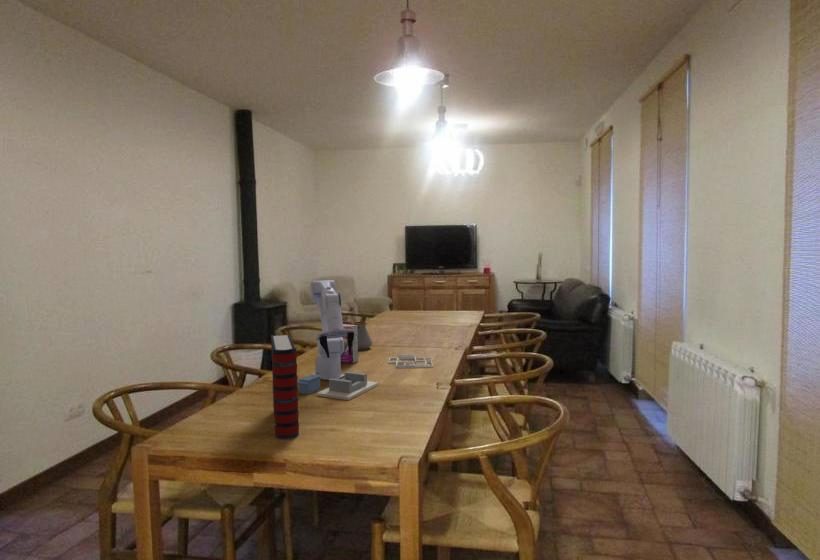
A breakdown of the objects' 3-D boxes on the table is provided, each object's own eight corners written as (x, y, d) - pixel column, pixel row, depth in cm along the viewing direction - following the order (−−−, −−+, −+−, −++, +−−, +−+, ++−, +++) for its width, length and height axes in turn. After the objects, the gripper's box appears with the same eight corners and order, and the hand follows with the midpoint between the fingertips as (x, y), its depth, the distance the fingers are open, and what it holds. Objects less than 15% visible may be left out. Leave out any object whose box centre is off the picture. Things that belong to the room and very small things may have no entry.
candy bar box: (331, 361, 235) (330, 325, 234) (337, 359, 240) (336, 323, 238) (352, 363, 230) (352, 326, 229) (358, 361, 235) (358, 324, 234)
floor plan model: (376, 359, 241) (376, 355, 241) (431, 358, 241) (431, 354, 240) (373, 369, 222) (373, 365, 222) (432, 369, 222) (432, 364, 222)
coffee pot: (350, 346, 268) (350, 316, 267) (373, 346, 268) (373, 316, 267) (343, 355, 247) (343, 323, 246) (368, 355, 247) (367, 323, 245)
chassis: (317, 395, 185) (316, 381, 184) (348, 381, 203) (347, 368, 202) (348, 400, 179) (348, 385, 179) (378, 385, 197) (377, 371, 196)
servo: (296, 394, 187) (296, 378, 187) (313, 386, 196) (313, 371, 196) (306, 395, 186) (305, 379, 185) (322, 388, 194) (322, 372, 194)
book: (300, 438, 146) (297, 349, 144) (274, 441, 144) (271, 351, 142) (293, 409, 170) (291, 333, 168) (271, 412, 168) (268, 334, 166)
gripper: (314, 318, 190) (318, 352, 183) (354, 314, 193) (360, 347, 186) (315, 328, 196) (318, 361, 189) (354, 324, 199) (359, 356, 192)
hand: (339, 355), depth 188 cm, fingers open, 7 cm apart
